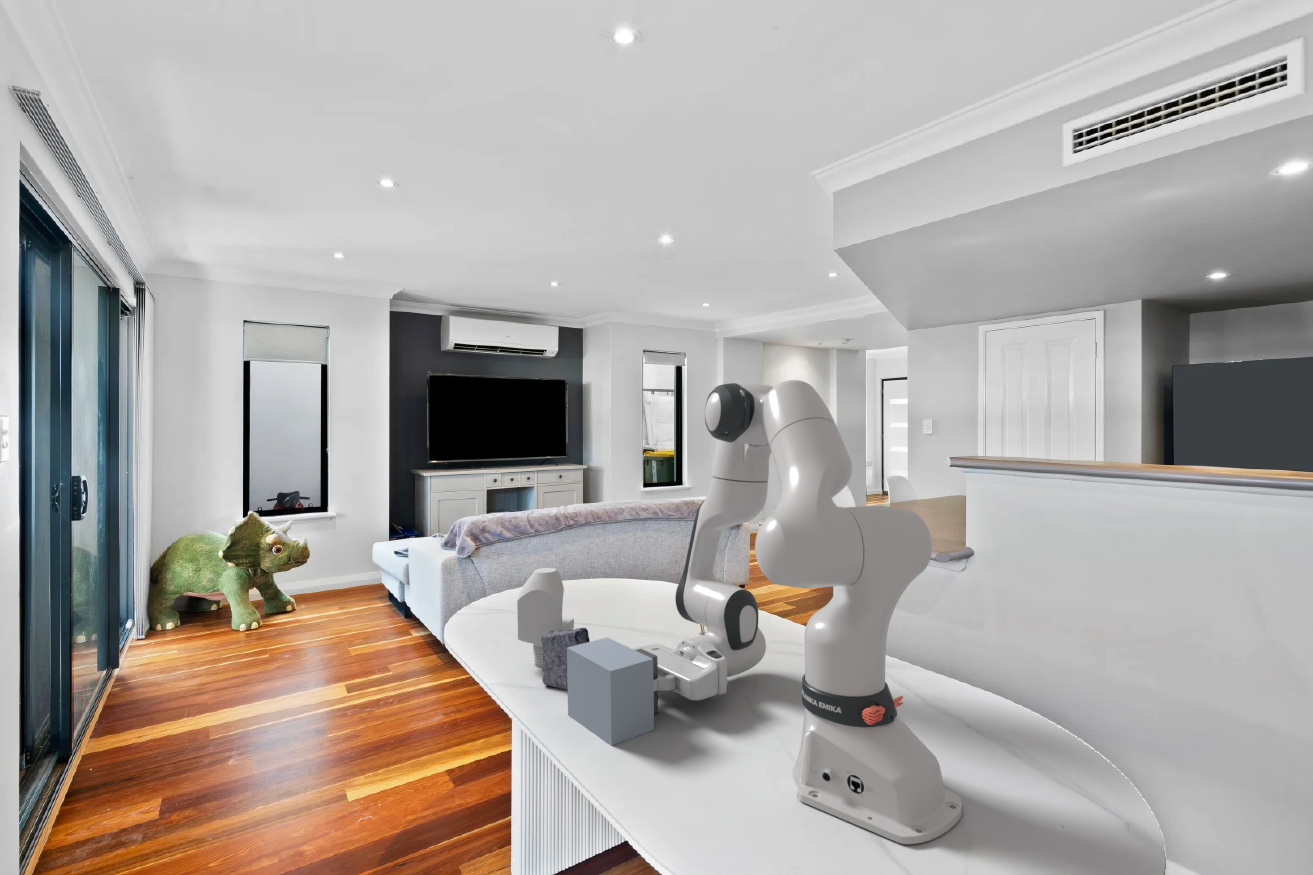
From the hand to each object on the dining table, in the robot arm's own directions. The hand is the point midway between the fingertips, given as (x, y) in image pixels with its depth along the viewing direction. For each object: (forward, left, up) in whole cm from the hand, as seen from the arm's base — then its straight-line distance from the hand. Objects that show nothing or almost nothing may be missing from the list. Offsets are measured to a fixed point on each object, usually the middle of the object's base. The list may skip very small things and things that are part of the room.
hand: (636, 680), depth 115 cm
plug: (0, +1, -6) cm, 6 cm away
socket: (0, +6, -6) cm, 8 cm away
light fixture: (+32, +1, -6) cm, 33 cm away
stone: (+20, +3, -6) cm, 21 cm away
